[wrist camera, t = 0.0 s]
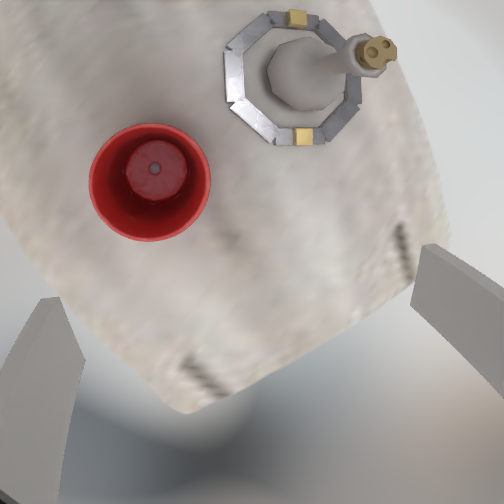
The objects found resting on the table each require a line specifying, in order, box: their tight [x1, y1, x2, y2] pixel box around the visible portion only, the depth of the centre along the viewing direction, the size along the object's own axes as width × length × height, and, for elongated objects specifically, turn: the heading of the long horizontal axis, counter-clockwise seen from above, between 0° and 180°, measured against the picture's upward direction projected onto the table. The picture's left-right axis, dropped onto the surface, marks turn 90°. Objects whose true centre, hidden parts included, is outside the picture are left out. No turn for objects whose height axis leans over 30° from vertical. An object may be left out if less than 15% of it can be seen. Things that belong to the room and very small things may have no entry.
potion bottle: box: [267, 33, 397, 110], centre depth 25 cm, size 9×9×18 cm
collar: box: [223, 9, 362, 146], centre depth 32 cm, size 17×17×2 cm
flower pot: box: [89, 123, 211, 242], centre depth 29 cm, size 11×11×10 cm
